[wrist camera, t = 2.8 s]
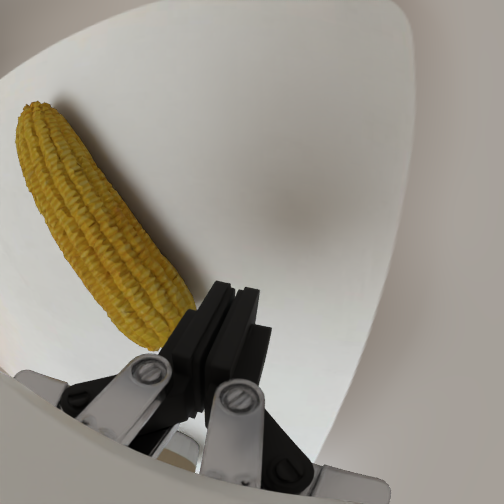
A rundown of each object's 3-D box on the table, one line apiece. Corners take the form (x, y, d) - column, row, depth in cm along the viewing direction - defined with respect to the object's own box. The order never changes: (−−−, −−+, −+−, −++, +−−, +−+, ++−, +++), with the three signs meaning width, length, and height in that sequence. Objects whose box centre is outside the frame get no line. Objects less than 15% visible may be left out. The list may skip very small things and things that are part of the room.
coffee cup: (141, 409, 33) (93, 493, 20) (218, 440, 32) (184, 533, 19) (145, 437, 38) (110, 504, 25) (208, 462, 37) (180, 534, 24)
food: (219, 295, 21) (189, 352, 16) (171, 321, 23) (138, 370, 18) (63, 84, 16) (5, 89, 10) (35, 133, 18) (-17, 147, 13)
